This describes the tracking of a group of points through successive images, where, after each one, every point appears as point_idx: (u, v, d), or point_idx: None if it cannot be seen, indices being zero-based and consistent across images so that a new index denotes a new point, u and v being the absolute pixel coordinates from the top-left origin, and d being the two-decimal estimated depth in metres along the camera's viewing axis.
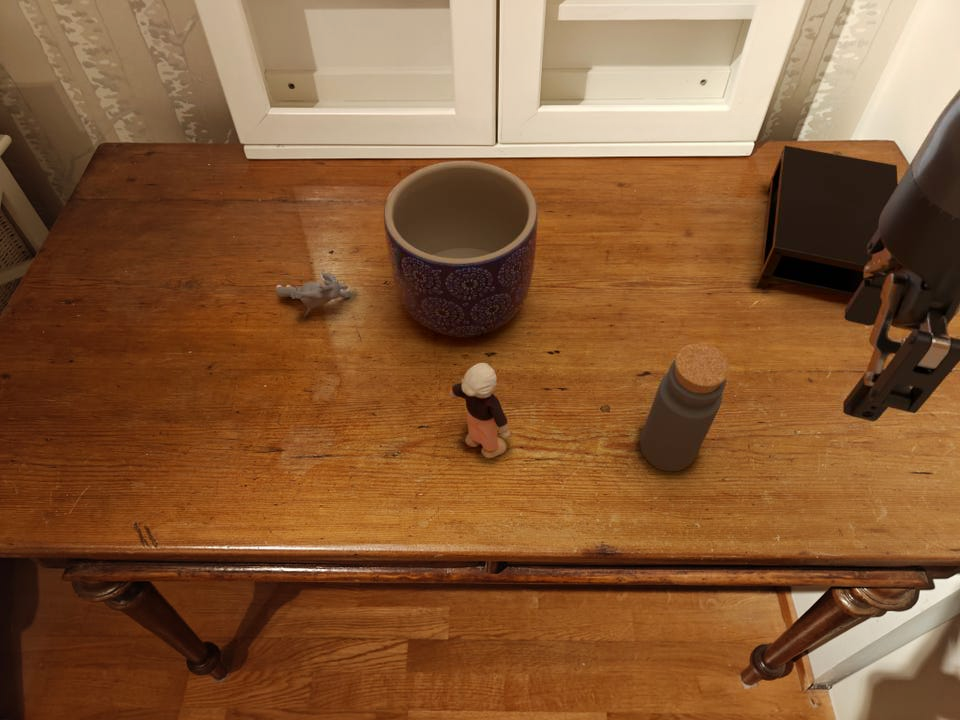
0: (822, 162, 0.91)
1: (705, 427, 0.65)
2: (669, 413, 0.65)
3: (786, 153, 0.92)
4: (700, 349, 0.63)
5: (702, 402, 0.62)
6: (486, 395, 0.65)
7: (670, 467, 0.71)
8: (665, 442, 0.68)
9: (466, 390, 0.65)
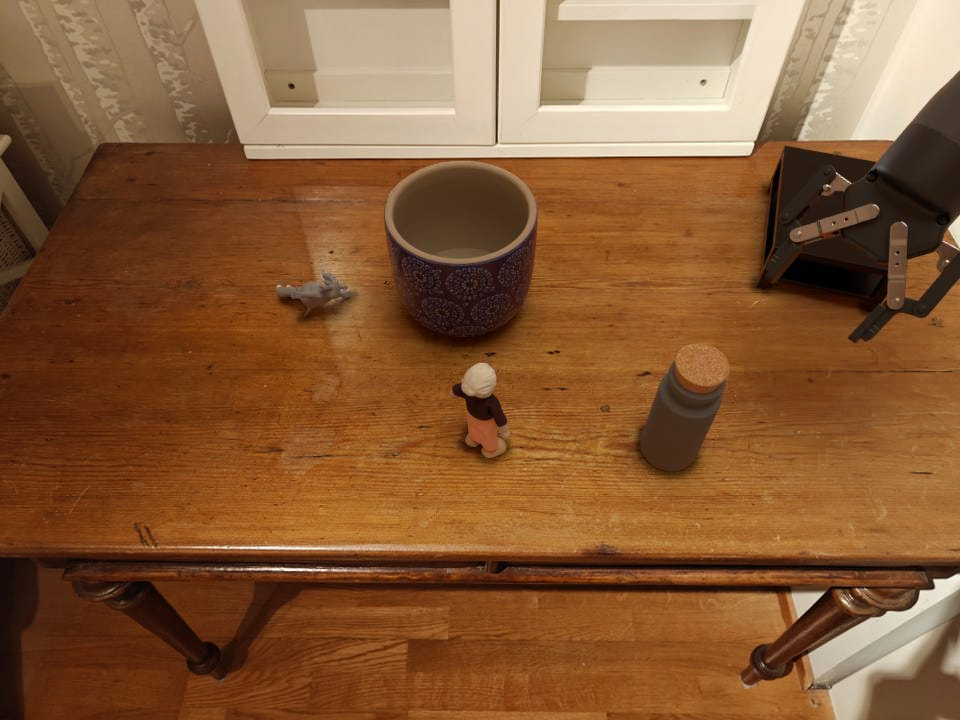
0: (822, 162, 0.91)
1: (705, 427, 0.65)
2: (669, 413, 0.65)
3: (786, 153, 0.92)
4: (700, 349, 0.63)
5: (702, 402, 0.62)
6: (486, 395, 0.65)
7: (670, 467, 0.71)
8: (665, 442, 0.68)
9: (466, 390, 0.65)
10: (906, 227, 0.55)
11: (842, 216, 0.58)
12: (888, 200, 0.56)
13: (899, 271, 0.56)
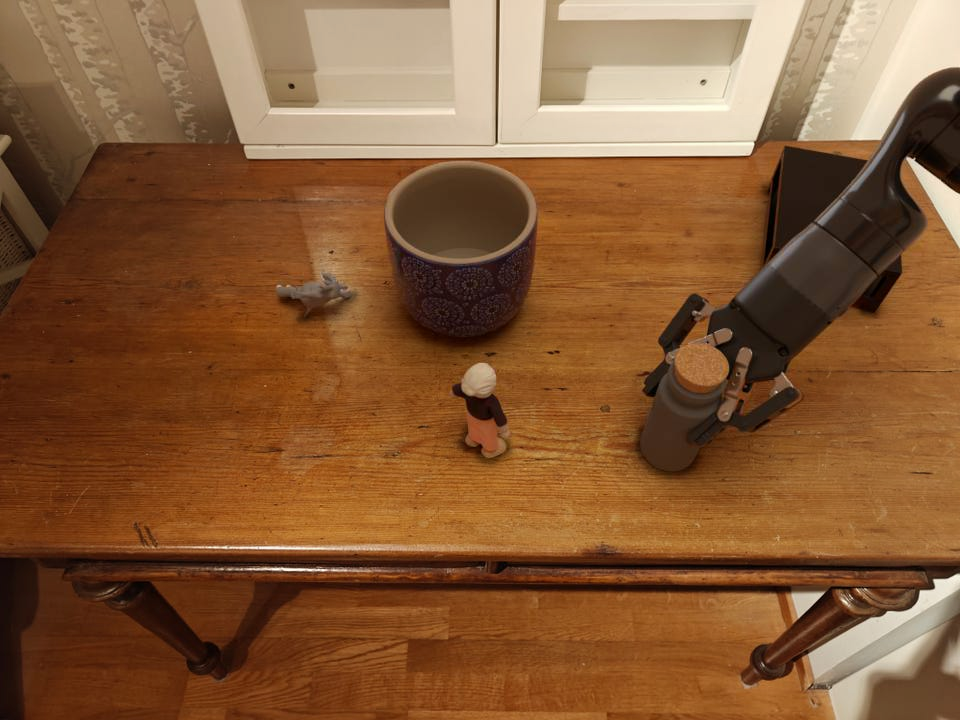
0: (822, 162, 0.91)
1: None
2: (669, 412, 0.65)
3: (786, 153, 0.92)
4: (700, 349, 0.63)
5: (702, 402, 0.62)
6: (486, 395, 0.65)
7: (670, 467, 0.71)
8: (665, 442, 0.68)
9: (466, 390, 0.65)
10: (751, 354, 0.61)
11: None
12: (743, 327, 0.63)
13: (734, 390, 0.62)
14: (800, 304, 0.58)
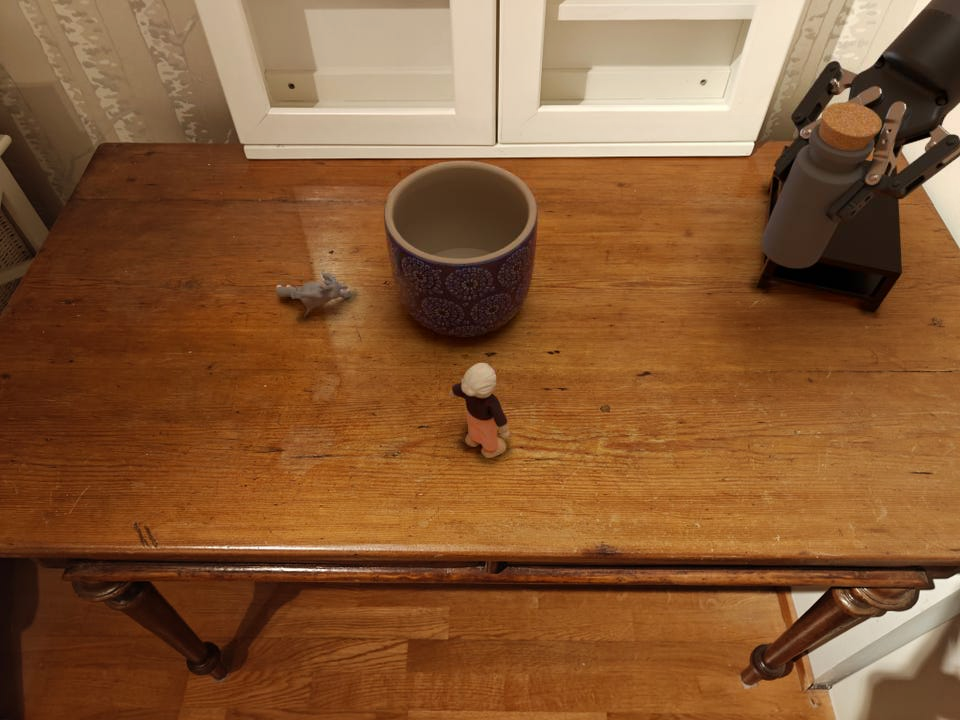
0: None
1: None
2: (810, 183, 0.61)
3: None
4: (847, 107, 0.59)
5: (851, 161, 0.58)
6: (486, 395, 0.65)
7: (797, 262, 0.68)
8: (798, 225, 0.64)
9: (466, 390, 0.65)
10: (905, 107, 0.58)
11: None
12: (892, 84, 0.59)
13: (885, 148, 0.58)
14: None
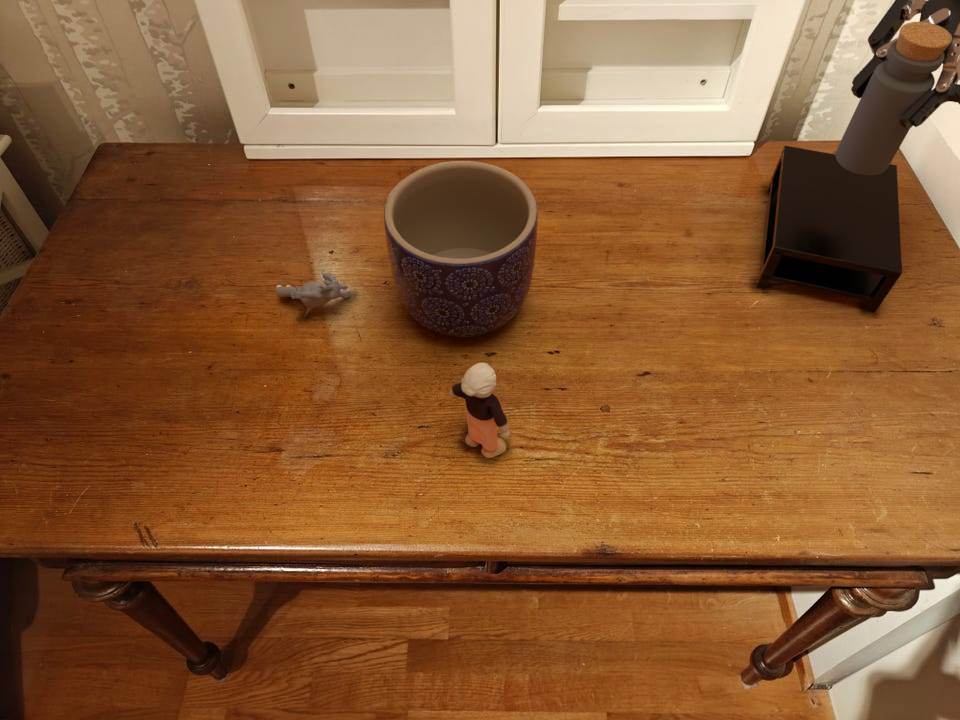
0: (822, 162, 0.91)
1: None
2: (887, 92, 0.71)
3: (786, 153, 0.92)
4: (921, 25, 0.69)
5: (925, 70, 0.69)
6: (486, 395, 0.65)
7: (870, 169, 0.78)
8: (873, 133, 0.75)
9: (466, 390, 0.65)
10: None
11: None
12: (959, 7, 0.69)
13: (953, 60, 0.69)
14: None
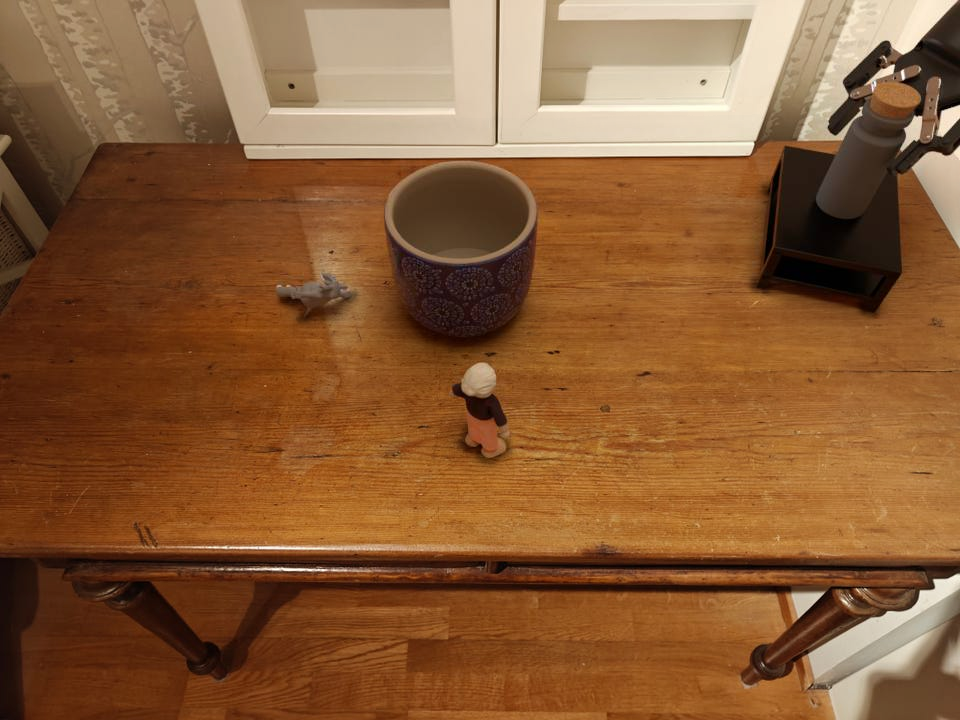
0: (822, 162, 0.91)
1: (890, 160, 0.78)
2: (862, 146, 0.77)
3: (786, 153, 0.92)
4: (893, 85, 0.75)
5: (896, 127, 0.74)
6: (486, 395, 0.65)
7: (847, 213, 0.83)
8: (850, 182, 0.80)
9: (466, 390, 0.65)
10: (939, 80, 0.73)
11: (892, 76, 0.76)
12: (929, 64, 0.75)
13: (931, 113, 0.73)
14: None
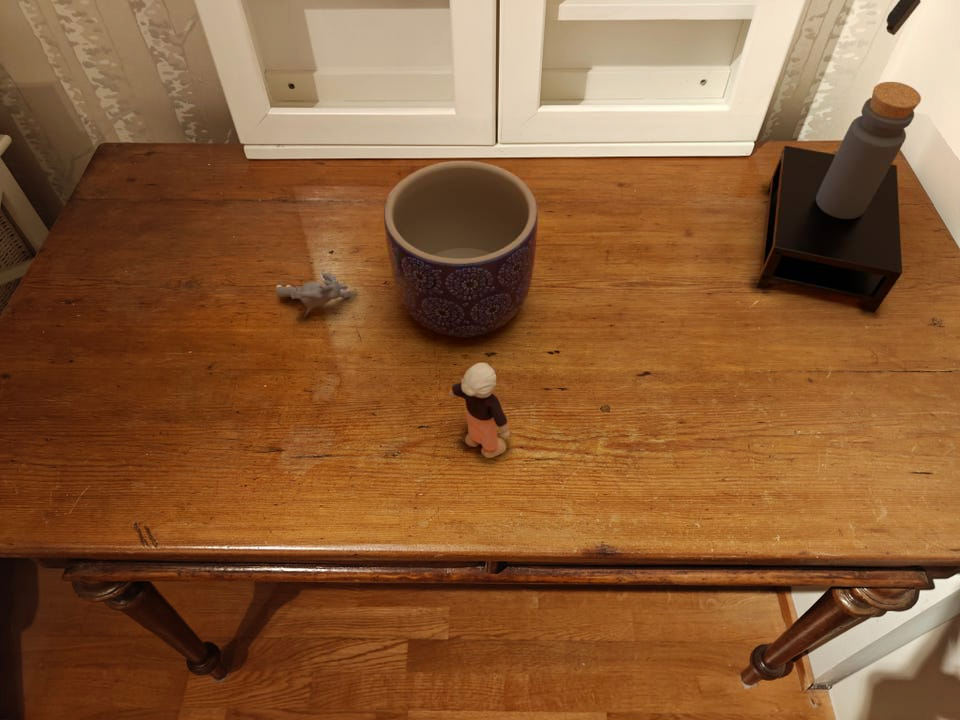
0: (822, 162, 0.91)
1: (890, 160, 0.78)
2: (862, 146, 0.77)
3: (786, 153, 0.92)
4: (893, 85, 0.75)
5: (896, 127, 0.74)
6: (486, 395, 0.65)
7: (847, 213, 0.83)
8: (850, 182, 0.80)
9: (466, 390, 0.65)
10: None
11: None
12: None
13: None
14: None
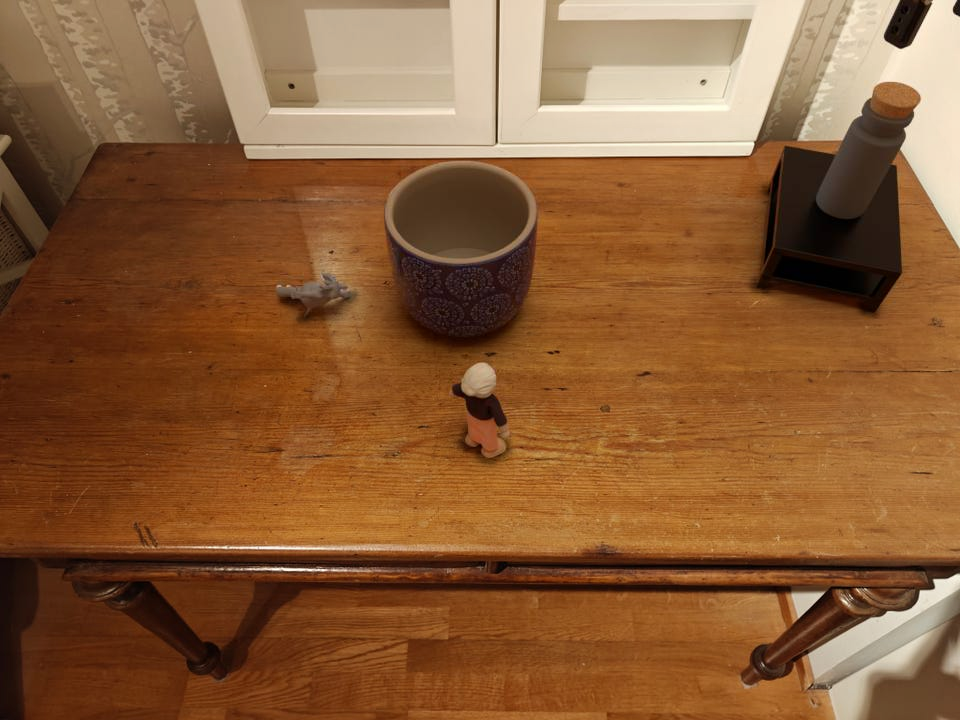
0: (822, 162, 0.91)
1: (890, 160, 0.78)
2: (862, 146, 0.77)
3: (786, 153, 0.92)
4: (893, 85, 0.75)
5: (896, 127, 0.74)
6: (486, 395, 0.65)
7: (847, 213, 0.83)
8: (850, 182, 0.80)
9: (466, 390, 0.65)
10: None
11: None
12: None
13: None
14: None
